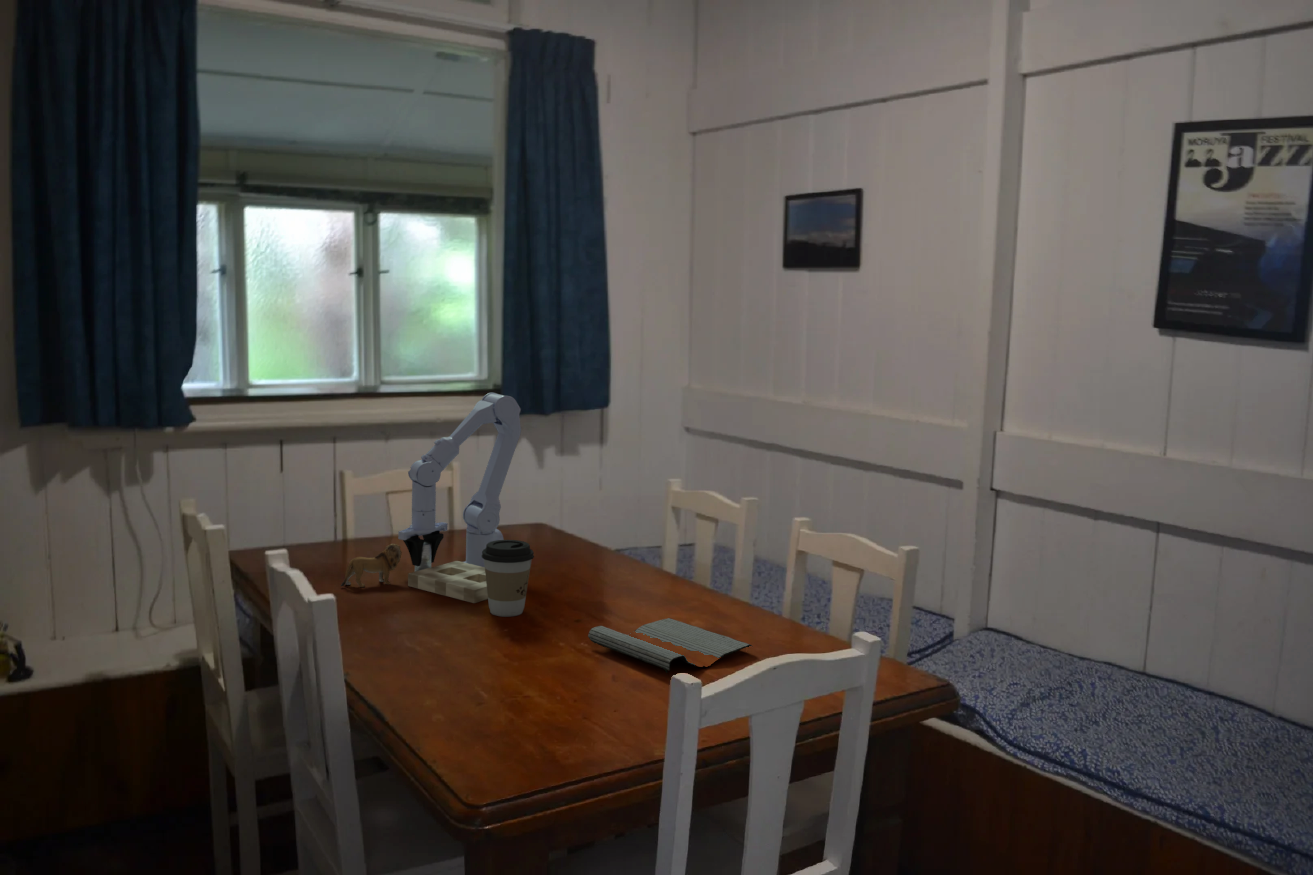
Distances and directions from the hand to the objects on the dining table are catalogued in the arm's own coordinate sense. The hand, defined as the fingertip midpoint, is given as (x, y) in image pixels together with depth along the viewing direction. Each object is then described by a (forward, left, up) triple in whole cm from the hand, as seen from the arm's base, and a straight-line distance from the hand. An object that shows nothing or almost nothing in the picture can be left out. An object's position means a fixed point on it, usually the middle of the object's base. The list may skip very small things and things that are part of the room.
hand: (423, 563), depth 248 cm
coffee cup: (+11, +37, -2) cm, 39 cm away
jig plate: (+3, +17, -2) cm, 17 cm away
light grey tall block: (0, 0, -2) cm, 2 cm away
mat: (+9, +78, -3) cm, 79 cm away
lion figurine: (+15, -1, -2) cm, 15 cm away
